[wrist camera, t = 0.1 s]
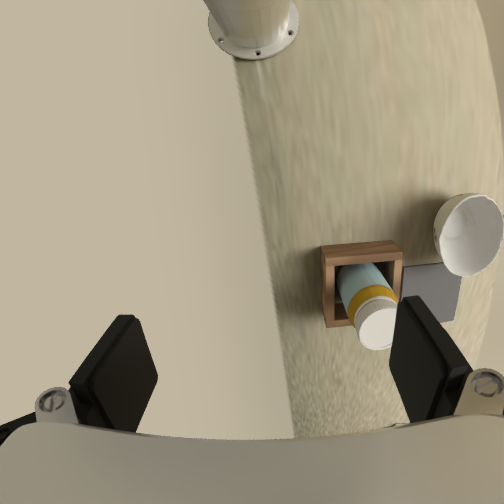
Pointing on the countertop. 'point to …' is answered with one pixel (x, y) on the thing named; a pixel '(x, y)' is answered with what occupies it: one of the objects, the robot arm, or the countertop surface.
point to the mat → (433, 288)
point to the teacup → (468, 233)
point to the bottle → (368, 304)
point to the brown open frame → (356, 255)
